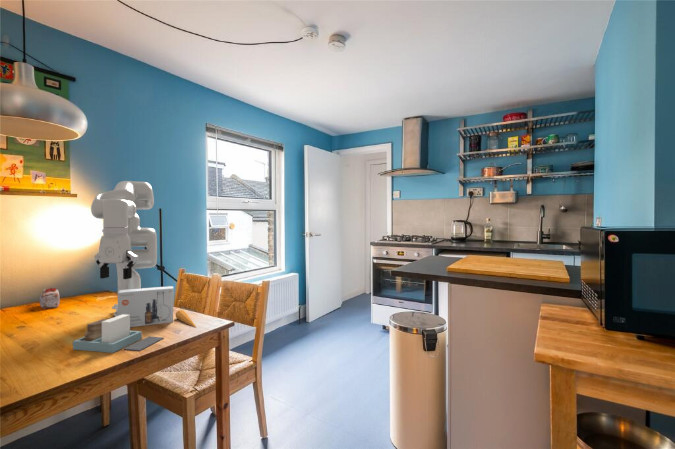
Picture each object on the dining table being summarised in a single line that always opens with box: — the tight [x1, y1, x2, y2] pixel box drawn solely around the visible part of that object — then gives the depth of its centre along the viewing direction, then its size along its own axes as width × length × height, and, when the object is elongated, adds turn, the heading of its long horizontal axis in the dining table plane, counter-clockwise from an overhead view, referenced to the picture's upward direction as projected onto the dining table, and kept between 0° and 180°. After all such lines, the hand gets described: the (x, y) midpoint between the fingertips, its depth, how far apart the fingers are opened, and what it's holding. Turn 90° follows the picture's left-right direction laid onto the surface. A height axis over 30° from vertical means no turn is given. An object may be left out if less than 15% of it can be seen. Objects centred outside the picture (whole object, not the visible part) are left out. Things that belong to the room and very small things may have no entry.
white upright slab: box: [102, 314, 131, 343], centre depth 117 cm, size 3×9×10 cm, turn 171°
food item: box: [39, 287, 61, 310], centre depth 167 cm, size 14×8×10 cm, turn 43°
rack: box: [72, 330, 143, 354], centre depth 118 cm, size 16×13×3 cm
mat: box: [123, 336, 164, 352], centre depth 118 cm, size 6×12×1 cm, turn 171°
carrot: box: [175, 309, 197, 328], centre depth 143 cm, size 20×4×4 cm, turn 46°
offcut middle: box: [84, 329, 102, 340], centre depth 119 cm, size 4×8×3 cm, turn 177°
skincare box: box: [117, 285, 174, 328], centre depth 141 cm, size 21×5×16 cm, turn 117°
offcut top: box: [86, 318, 108, 332], centre depth 119 cm, size 4×6×2 cm, turn 169°
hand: (116, 278), depth 117 cm, fingers open, 9 cm apart
